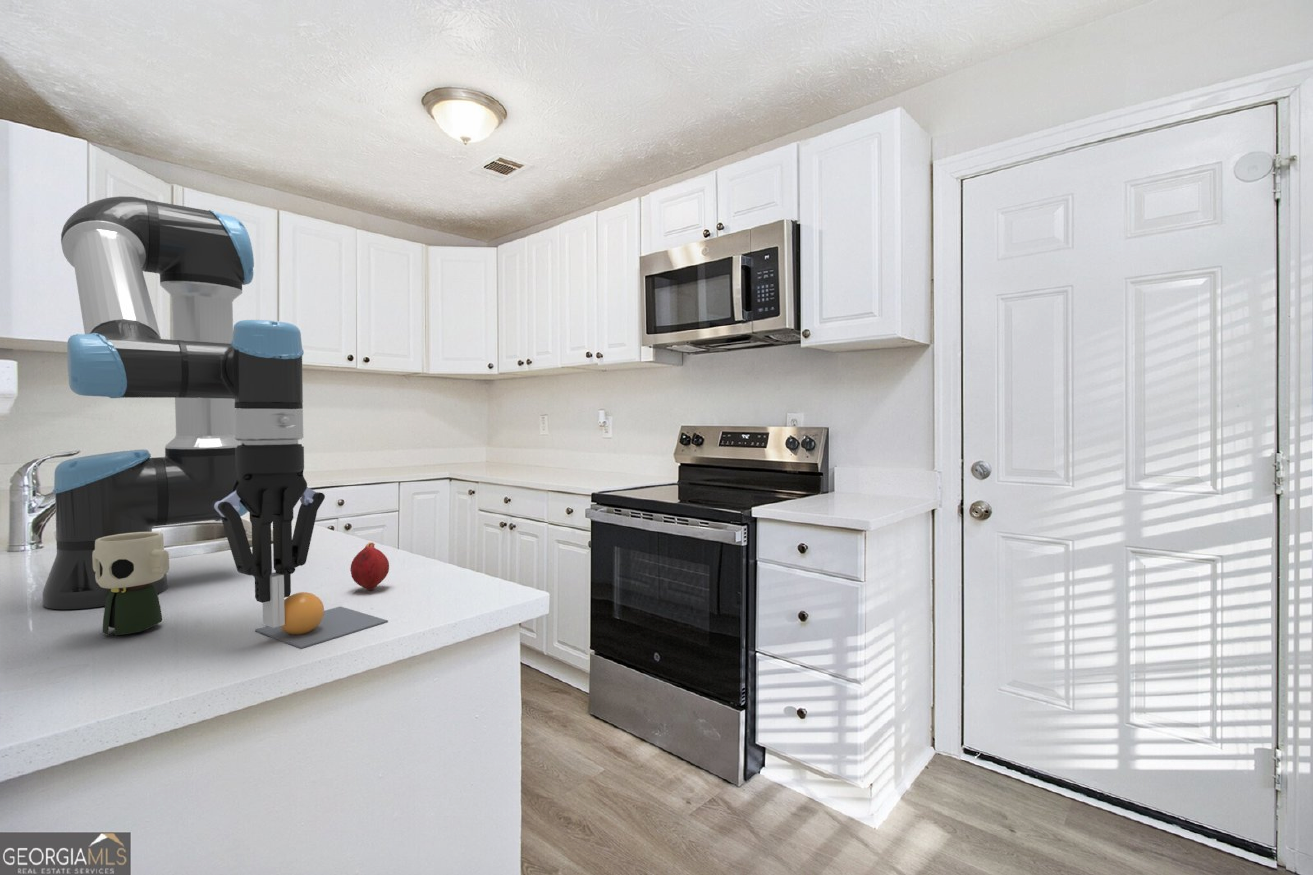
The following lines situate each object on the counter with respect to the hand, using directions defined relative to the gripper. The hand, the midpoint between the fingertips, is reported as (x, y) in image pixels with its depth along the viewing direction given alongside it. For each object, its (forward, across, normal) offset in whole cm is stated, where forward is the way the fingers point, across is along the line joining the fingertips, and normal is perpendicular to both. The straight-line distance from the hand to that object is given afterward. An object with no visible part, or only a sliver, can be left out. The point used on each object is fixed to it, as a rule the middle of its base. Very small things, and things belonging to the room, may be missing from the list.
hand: (273, 624), depth 81 cm
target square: (+2, +6, 0) cm, 7 cm away
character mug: (+2, -8, +20) cm, 22 cm away
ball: (-1, +3, 0) cm, 3 cm away
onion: (+2, +20, +11) cm, 24 cm away
